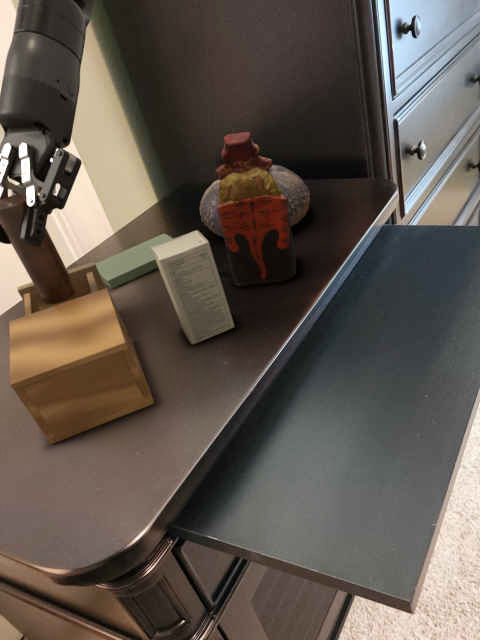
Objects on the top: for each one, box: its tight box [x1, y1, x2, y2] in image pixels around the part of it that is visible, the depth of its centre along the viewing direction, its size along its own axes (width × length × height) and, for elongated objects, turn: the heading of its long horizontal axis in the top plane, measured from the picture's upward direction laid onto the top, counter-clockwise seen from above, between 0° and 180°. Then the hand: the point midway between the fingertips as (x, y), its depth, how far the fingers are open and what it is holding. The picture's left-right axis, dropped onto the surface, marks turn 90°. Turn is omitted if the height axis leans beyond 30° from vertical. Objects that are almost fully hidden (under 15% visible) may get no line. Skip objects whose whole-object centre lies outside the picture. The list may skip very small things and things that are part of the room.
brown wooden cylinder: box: [0, 194, 76, 304], centre depth 62 cm, size 4×4×12 cm
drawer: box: [16, 261, 107, 316], centre depth 70 cm, size 17×10×7 cm, turn 24°
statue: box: [214, 131, 297, 287], centre depth 71 cm, size 12×8×20 cm, turn 86°
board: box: [95, 233, 174, 290], centre depth 86 cm, size 14×8×2 cm, turn 128°
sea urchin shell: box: [199, 164, 311, 239], centre depth 89 cm, size 19×19×10 cm
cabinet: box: [9, 287, 155, 445], centre depth 60 cm, size 14×12×9 cm
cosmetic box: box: [151, 229, 235, 345], centre depth 64 cm, size 6×4×12 cm
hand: (15, 242), depth 59 cm, fingers closed on brown wooden cylinder, 4 cm apart
